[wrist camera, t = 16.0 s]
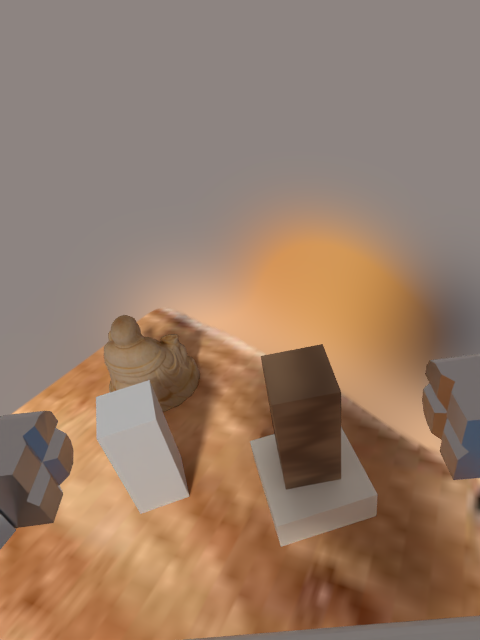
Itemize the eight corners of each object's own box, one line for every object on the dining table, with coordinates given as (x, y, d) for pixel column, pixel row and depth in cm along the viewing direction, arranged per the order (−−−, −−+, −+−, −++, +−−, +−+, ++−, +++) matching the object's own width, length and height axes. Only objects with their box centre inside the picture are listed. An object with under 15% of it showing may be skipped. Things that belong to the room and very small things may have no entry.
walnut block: (285, 489, 38) (271, 405, 31) (275, 441, 42) (260, 356, 34) (341, 479, 38) (340, 391, 31) (326, 432, 42) (322, 344, 34)
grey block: (140, 513, 43) (96, 439, 35) (136, 471, 47) (96, 397, 39) (189, 496, 43) (155, 419, 36) (181, 456, 47) (149, 379, 40)
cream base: (281, 548, 38) (276, 526, 36) (255, 464, 45) (250, 441, 43) (376, 518, 39) (377, 494, 37) (336, 439, 46) (335, 415, 44)
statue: (51, 375, 45) (76, 298, 51) (108, 423, 57) (124, 357, 62) (161, 371, 43) (175, 291, 49) (197, 423, 54) (205, 353, 60)
